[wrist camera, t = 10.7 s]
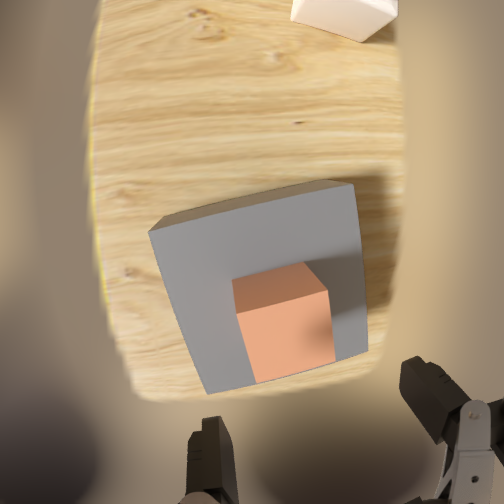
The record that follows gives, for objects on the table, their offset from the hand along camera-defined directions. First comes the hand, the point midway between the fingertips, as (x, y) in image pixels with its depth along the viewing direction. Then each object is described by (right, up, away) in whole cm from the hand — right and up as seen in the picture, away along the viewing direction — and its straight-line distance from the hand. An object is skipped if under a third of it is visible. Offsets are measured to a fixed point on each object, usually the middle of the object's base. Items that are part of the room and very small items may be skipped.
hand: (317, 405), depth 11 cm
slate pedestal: (-2, +4, +16) cm, 16 cm away
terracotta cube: (-1, +3, +10) cm, 10 cm away
